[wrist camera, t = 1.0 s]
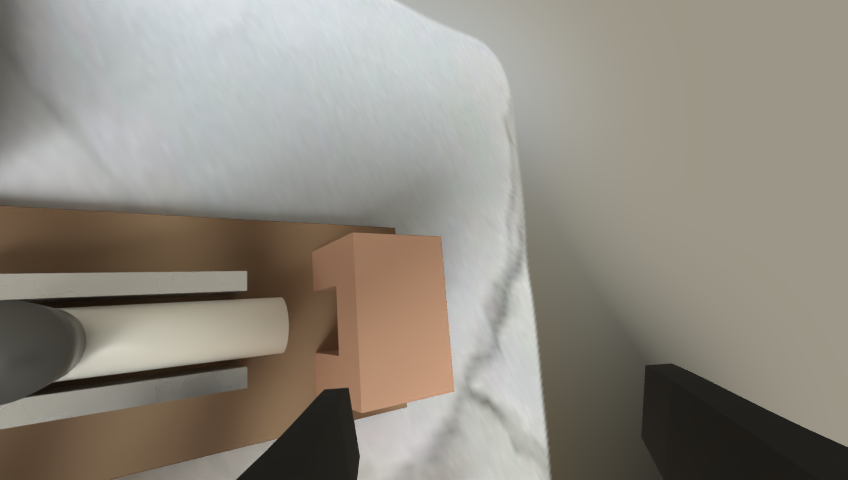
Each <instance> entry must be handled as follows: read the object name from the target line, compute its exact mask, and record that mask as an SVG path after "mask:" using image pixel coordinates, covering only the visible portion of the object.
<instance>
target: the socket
mask: <svg viewBox="0 0 848 480" xmlns="http://www.w3.org/2000/svg"><path fill="white" fill-rule="evenodd" d="M312 265H313V291H331V290H336V294H337V319H338V344H339V350H333V351H325V352H318V353H315V363H316V395H317V396H318V395H319V394H320V393H321V392H322V391H323V390H324V389H336V388H349V393H350V399H351V405H352V410H354V411H357V412H360V413H365V412H369V411H374V410H378V409H382V408H386V407H391V406H395V405H399V404H403V403H407V402H412V401H416V400H420V399H424V398H429V397H433V396H437V395H441V394H446V393H450V392H454V382H453V370H452V359H451V347H450V336H449V324H448V313H447V301H446V290H445V278H444V267H443V255H442V244H441V237H440V236H418V235H397V234H375V233H351V234H349V235H347V236H344V237H342V238H340V239H338V240H336V241H334V242H332V243H330V244H328V245H326V246H323V247H321V248H319V249H317V250H315V251H313V252H312Z"/></svg>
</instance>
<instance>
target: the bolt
mask: <svg viewBox="0 0 848 480" xmlns="http://www.w3.org/2000/svg"><path fill="white" fill-rule="evenodd" d="M288 335H289V319H288V311H287V306H286V303H285V301H284V299H283V298H282V297H276V298H255V299H235V300H214V301H194V302H173V303H152V304H132V305H111V306H91V307H70V308H51V307H47V306H43V305H38V304H34V303H29V302H25V301H17V300H0V405H4V404H8V403H11V402H14V401H17V400H20V399H22V398H24V397H26V396H28V395H30V394H32V393H34V392H36V391H38V390H40V389H41V388H43V387H45V386H47V385H49V384H51V383H52V382H59V381H67V380H75V379H83V378H90V377H98V376H106V375H114V374H122V373H130V372H138V371H146V370H154V369H161V368H169V367H177V366H185V365H193V364H201V363H209V362H217V361H225V360H233V359H240V358H248V357H256V356H264V355H272V354H280V353H283V352H284V351H285V349H286V347H287V342H288Z"/></svg>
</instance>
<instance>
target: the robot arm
mask: <svg viewBox="0 0 848 480" xmlns="http://www.w3.org/2000/svg"><path fill="white" fill-rule="evenodd" d="M643 401H644V402H643V418H642V434H641V437H642V439H643V441H644V443H645V445H646V447H647V449H648V451H649V453H650V455H651V457H652V459H653V461H654V463H655V464H656V466H657V468H658V470H659V472H660V474H661V476H662V477H663V479H664V480H848V447H846V446H844V445H841V444H839V443H837V442H835V441H832V440H830V439H828V438H826V437H824V436H821V435H819V434H817V433H815V432H813V431H810V430H808V429H806V428H804V427H802V426H800V425H798V424H795V423H793V422H791V421H789V420H787V419H785V418H783V417H780V416H779V415H777V414H775V413H773V412H770V411H768V410H766V409H764V408H762V407H760V406H758V405H756V404H754V403H752V402H750V401H748V400H746V399H744V398H742V397H740V396H738V395H736V394H734V393H732V392H730V391H728V390H726V389H724V388H722V387H720V386H718V385H716V384H714V383H712V382H710V381H708V380H706V379H704V378H702V377H700V376H698V375H696V374H694V373H692V372H690V371H688V370H685V369H683V368H681V367H679V366H676V365H674V364H660V365H646V366H645V384H644V400H643ZM359 458H360V455H359V449H358V443H357V436H356V430H355V424H354V418H353V412H352V405H351V399H350V393H349V388H336V389H324V390H323V391H322V392H321V393H320V394H319V395H318V396H317V397H316V399H315V400H314V401H313V402H312V403H311V404H310V405H309V406H308V407H307V408H306V409H305V410H304V412H303V413H302V414H301V415H300V416H299V417H298V418H297V419H296V420H295V421H294V422H293V423H292V425H291V426H290V427H289V428H288V429H287V430H286V431H285V432H284V433H283V434H282V435H281V436H280V437H279V438H278V439H277V440H276V441H275V442H274V443H273V445H272V446H271V447H270V448H269V449H268V450H267V451H266V452H265V453H264V454H262V455H261V456H260V457H259V458H258V459H257V460H256V461H255V462H254V463H253V464H252V465H251V466H250V467H249V468H248V469H247V470H246V471H245V472H244V473H243V474H242V475H241V476H240V477H239V478H238V479H236V480H357V475H358V466H359Z"/></svg>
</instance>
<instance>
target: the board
mask: <svg viewBox="0 0 848 480" xmlns="http://www.w3.org/2000/svg"><path fill="white" fill-rule="evenodd" d="M351 233H375V234H395V228H386V227H368V226H350V225H333V224H315V223H297V222H280V221H262V220H244V219H227V218H209V217H191V216H174V215H156V214H138V213H121V212H103V211H85V210H68V209H50V208H32V207H15V206H0V274H31V273H117V272H204V271H247V291H245V292H242V293H240V294H236V295H213V296H189V297H165V298H142V299H118V300H94V301H70V302H47V303H34V304H38V305H43V306H47V307H51V308H70V307H91V306H111V305H132V304H152V303H173V302H194V301H214V300H235V299H255V298H276V297H282V298H283V299H284V301H285V303H286V306H287V311H288V319H289V335H288V342H287V347H286V349H285V351H284V352H283V353H280V354H272V355H264V356H256V357H248V358H240V359H233V360H225V361H217V362H209V363H201V364H193V365H185V366H177V367H169V368H161V369H154V370H146V371H138V372H130V373H122V374H114V375H106V376H98V377H90V378H83V379H75V380H67V381H59V382H52V383H51V384H49V385H47V386H45V387H43V388H41V389H45V388H53V387H60V386H68V385H75V384H83V383H91V382H98V381H106V380H113V379H121V378H128V377H136V376H144V375H151V374H159V373H166V372H174V371H181V370H189V369H197V368H204V367H212V366H219V365H227V364H234V363H238V364H241V365H244V366H246V367H247V388H245V389H239V390H233V391H227V392H221V393H215V394H209V395H203V396H197V397H191V398H185V399H179V400H173V401H167V402H161V403H155V404H149V405H143V406H137V407H131V408H125V409H119V410H113V411H107V412H101V413H95V414H89V415H83V416H77V417H71V418H65V419H59V420H53V421H47V422H41V423H35V424H29V425H23V426H17V427H11V428H5V429H0V480H110V479H114V478H118V477H122V476H126V475H130V474H134V473H139V472H143V471H147V470H151V469H155V468H159V467H163V466H167V465H171V464H175V463H180V462H184V461H188V460H192V459H196V458H200V457H204V456H208V455H212V454H216V453H221V452H225V451H229V450H233V449H237V448H241V447H245V446H249V445H253V444H257V443H262V442H266V441H270V440H274V439H278V438H279V437H280V436H281V435H282V434H283V433H284V432H285V431H286V430H287V429H288V428H289V427H290V426H291V425H292V423H293V422H294V421H295V420H296V419H297V418H298V417H299V416H300V415H301V414H302V413H303V412H304V410H305V409H306V408H307V407H308V406H309V405H310V404H311V403H312V402H313V401H314V400H315V399H316V397H317V395H316V363H315V353H318V352H325V351H333V350H339V344H338V319H337V294H336V290H331V291H313V265H312V252H313V251H315V250H317V249H319V248H321V247H323V246H326V245H328V244H330V243H332V242H334V241H336V240H338V239H340V238H342V237H344V236H347V235H349V234H351ZM405 407H407V403H403V404H399V405H395V406H391V407H386V408H382V409H378V410H374V411H369V412H365V413H360V412H357V411H354V410H352V412H353V418H354V420H356V419H360V418H364V417H368V416H372V415H376V414H380V413H385V412H389V411H393V410H397V409H401V408H405Z"/></svg>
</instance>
